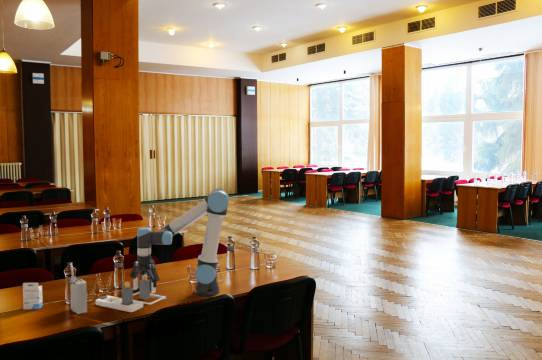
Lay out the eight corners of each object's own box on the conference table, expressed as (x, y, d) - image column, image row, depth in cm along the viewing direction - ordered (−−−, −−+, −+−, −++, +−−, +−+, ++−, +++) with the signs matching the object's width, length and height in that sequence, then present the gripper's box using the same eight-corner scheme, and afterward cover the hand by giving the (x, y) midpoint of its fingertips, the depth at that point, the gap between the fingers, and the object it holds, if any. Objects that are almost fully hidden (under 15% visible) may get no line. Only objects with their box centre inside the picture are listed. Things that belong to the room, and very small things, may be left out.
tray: (166, 299, 270) (166, 296, 270) (150, 306, 258) (150, 303, 258) (139, 293, 279) (139, 291, 279) (122, 300, 267) (122, 298, 266)
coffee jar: (140, 292, 282) (140, 262, 281) (137, 288, 289) (137, 259, 288) (156, 290, 287) (156, 260, 285) (153, 286, 294) (153, 257, 292)
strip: (143, 308, 254) (143, 301, 254) (131, 314, 246) (131, 306, 246) (107, 301, 266) (107, 294, 265) (95, 306, 257) (95, 298, 257)
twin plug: (132, 307, 254) (132, 281, 253) (127, 309, 251) (127, 283, 249) (127, 305, 256) (127, 280, 255) (122, 308, 252) (121, 282, 251)
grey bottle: (149, 298, 269) (149, 275, 268) (145, 300, 266) (144, 276, 265) (144, 297, 271) (144, 274, 270) (139, 299, 268) (139, 275, 266)
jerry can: (68, 307, 255) (67, 263, 253) (78, 305, 258) (77, 261, 256) (77, 316, 243) (76, 269, 241) (87, 314, 246) (86, 267, 244)
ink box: (43, 306, 257) (42, 280, 256) (39, 309, 252) (38, 282, 251) (27, 306, 256) (26, 280, 255) (23, 309, 251) (22, 283, 250)
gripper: (165, 255, 264) (165, 292, 266) (132, 250, 275) (132, 286, 277) (156, 258, 258) (157, 296, 259) (123, 253, 268) (123, 289, 270)
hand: (144, 291), depth 268 cm, fingers open, 12 cm apart
